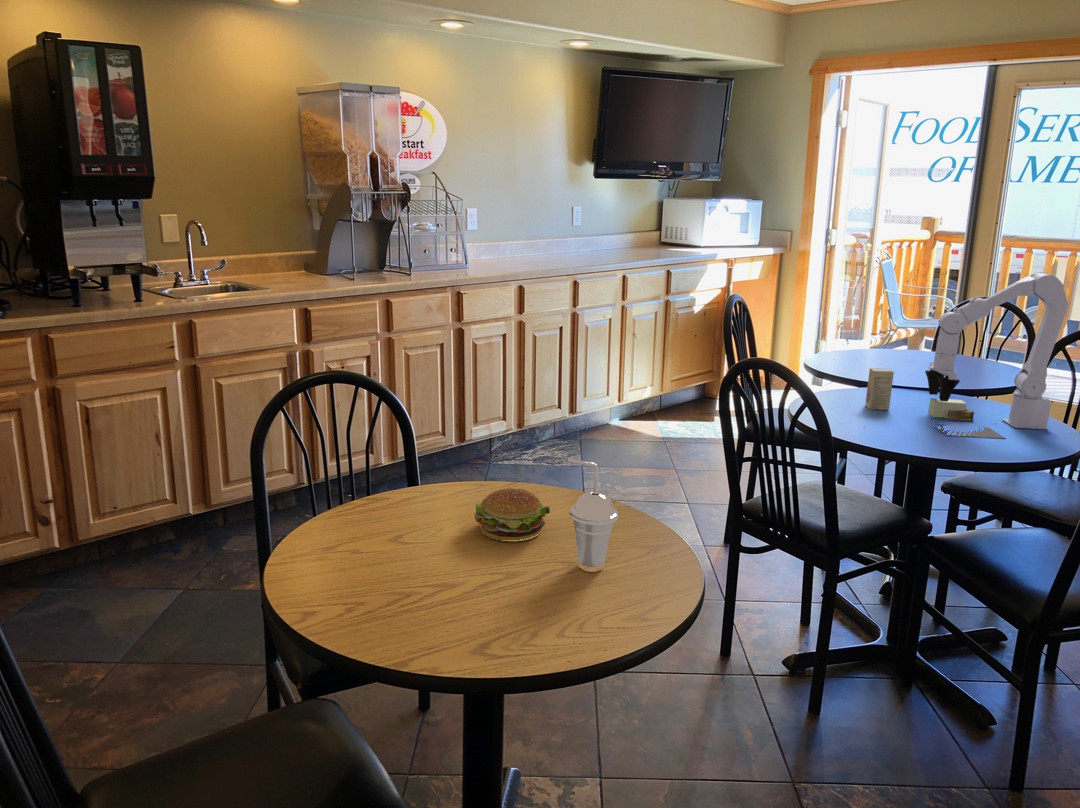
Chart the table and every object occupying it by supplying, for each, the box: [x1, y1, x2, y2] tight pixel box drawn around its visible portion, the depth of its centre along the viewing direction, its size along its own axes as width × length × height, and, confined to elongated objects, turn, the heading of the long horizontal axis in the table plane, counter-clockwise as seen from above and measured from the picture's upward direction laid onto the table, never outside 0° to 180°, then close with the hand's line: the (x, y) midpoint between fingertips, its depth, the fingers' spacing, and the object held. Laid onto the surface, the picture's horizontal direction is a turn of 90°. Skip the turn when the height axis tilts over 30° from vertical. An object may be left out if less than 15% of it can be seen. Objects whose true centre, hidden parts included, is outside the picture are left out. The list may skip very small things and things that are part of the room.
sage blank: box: [927, 397, 968, 418], centre depth 251 cm, size 9×4×5 cm, turn 84°
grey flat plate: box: [933, 424, 1006, 440], centre depth 236 cm, size 16×10×1 cm, turn 88°
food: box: [474, 487, 551, 541], centre depth 159 cm, size 14×14×8 cm
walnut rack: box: [948, 407, 975, 421], centre depth 251 cm, size 7×7×2 cm
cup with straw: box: [565, 457, 619, 567], centre depth 144 cm, size 8×9×20 cm
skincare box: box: [864, 367, 895, 411], centre depth 256 cm, size 6×4×12 cm
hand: (938, 397), depth 250 cm, fingers open, 7 cm apart
